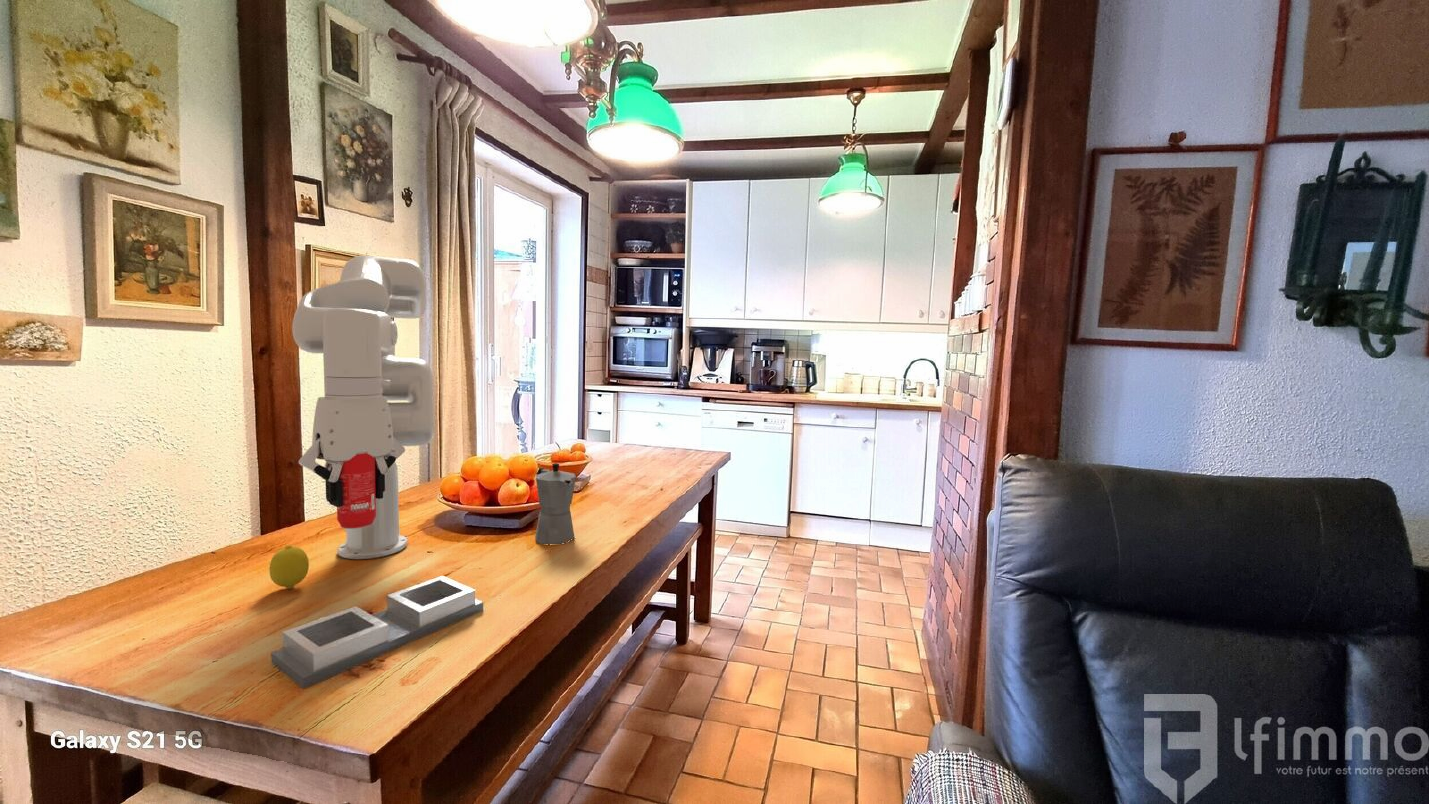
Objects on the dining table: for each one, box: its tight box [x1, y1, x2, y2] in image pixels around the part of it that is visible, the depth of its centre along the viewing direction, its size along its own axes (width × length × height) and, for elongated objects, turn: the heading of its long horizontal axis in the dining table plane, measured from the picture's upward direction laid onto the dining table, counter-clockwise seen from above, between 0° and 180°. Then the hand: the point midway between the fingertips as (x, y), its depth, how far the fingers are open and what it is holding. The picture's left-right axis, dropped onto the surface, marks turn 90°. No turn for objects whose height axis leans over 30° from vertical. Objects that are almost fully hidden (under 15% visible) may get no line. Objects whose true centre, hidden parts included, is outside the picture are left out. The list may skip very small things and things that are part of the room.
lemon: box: [269, 544, 310, 590], centre depth 96 cm, size 6×6×8 cm
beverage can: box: [336, 452, 376, 529], centre depth 86 cm, size 5×5×12 cm
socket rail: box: [270, 575, 484, 690], centre depth 83 cm, size 10×26×4 cm, turn 148°
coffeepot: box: [534, 462, 577, 546], centre depth 126 cm, size 15×9×18 cm, turn 44°
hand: (356, 500), depth 86 cm, fingers closed on beverage can, 5 cm apart
